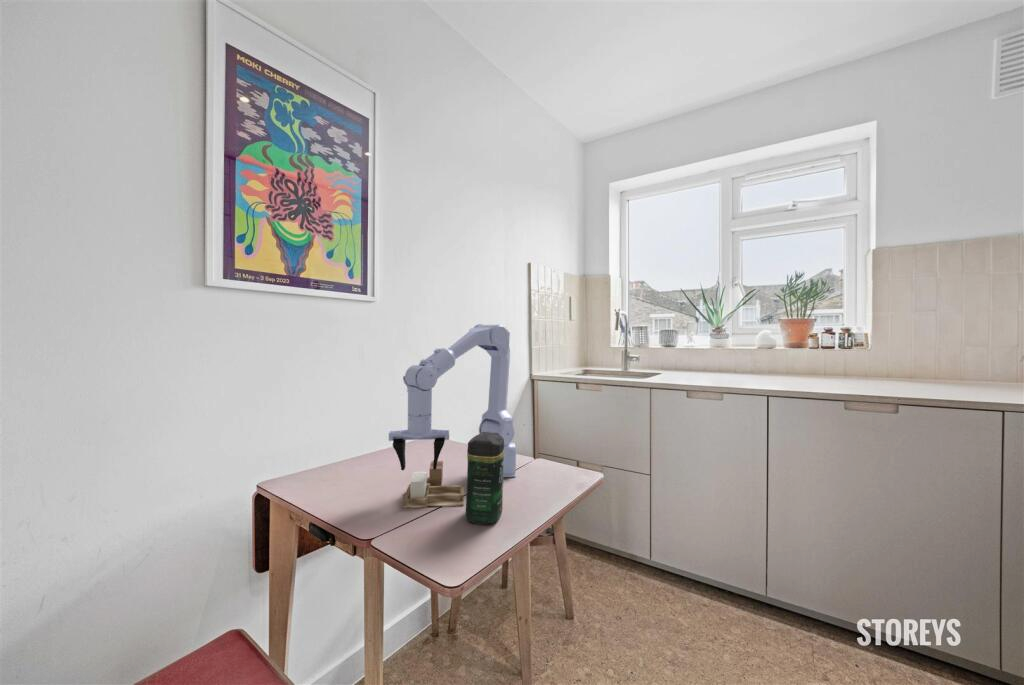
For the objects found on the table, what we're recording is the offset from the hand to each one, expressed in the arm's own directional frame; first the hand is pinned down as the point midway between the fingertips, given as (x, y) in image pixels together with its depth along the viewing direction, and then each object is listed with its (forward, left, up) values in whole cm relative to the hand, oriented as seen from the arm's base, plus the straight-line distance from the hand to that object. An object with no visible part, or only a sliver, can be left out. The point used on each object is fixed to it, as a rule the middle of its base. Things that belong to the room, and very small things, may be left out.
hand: (419, 468), depth 98 cm
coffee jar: (-16, +11, -8) cm, 21 cm away
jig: (-4, 0, -8) cm, 9 cm away
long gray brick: (0, 0, -7) cm, 7 cm away
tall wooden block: (-3, -11, -8) cm, 14 cm away
